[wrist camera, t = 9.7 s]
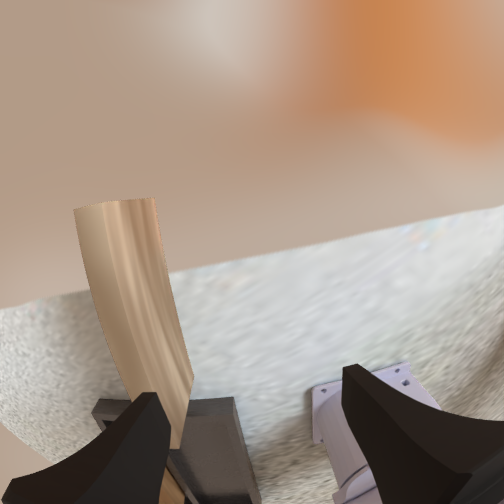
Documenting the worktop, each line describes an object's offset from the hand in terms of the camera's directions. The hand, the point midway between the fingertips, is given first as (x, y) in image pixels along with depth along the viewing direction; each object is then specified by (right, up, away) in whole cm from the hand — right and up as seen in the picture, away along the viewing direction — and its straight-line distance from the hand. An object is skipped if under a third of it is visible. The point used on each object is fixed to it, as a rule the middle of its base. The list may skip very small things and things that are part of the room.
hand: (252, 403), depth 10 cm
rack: (-7, -17, +14) cm, 23 cm away
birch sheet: (-6, +2, +10) cm, 12 cm away
